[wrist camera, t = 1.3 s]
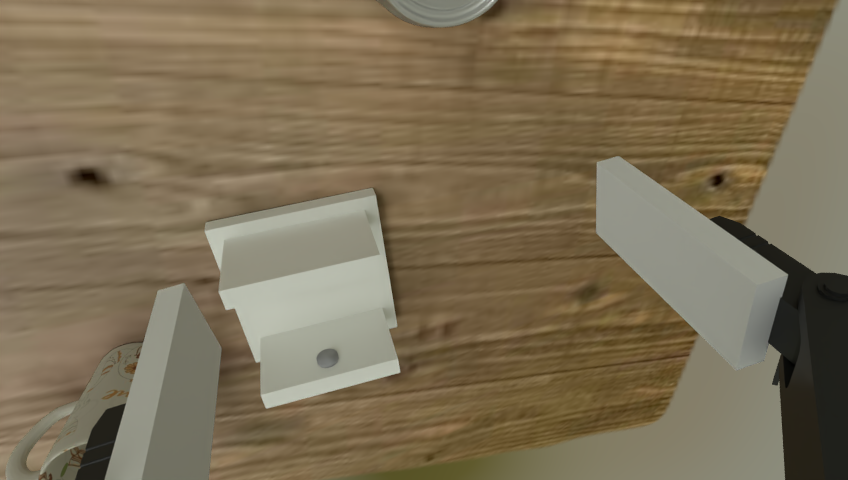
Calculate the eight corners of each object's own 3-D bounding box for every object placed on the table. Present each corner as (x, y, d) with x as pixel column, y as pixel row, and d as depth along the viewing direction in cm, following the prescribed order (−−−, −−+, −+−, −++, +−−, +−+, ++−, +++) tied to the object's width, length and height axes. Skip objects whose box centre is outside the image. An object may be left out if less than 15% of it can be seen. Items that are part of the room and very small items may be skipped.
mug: (216, 383, 45) (207, 490, 36) (70, 437, 44) (27, 559, 35) (166, 315, 40) (142, 420, 32) (1, 374, 39) (-68, 498, 31)
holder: (256, 352, 44) (255, 421, 38) (205, 222, 37) (195, 282, 31) (394, 317, 46) (414, 378, 40) (372, 187, 39) (393, 238, 33)
